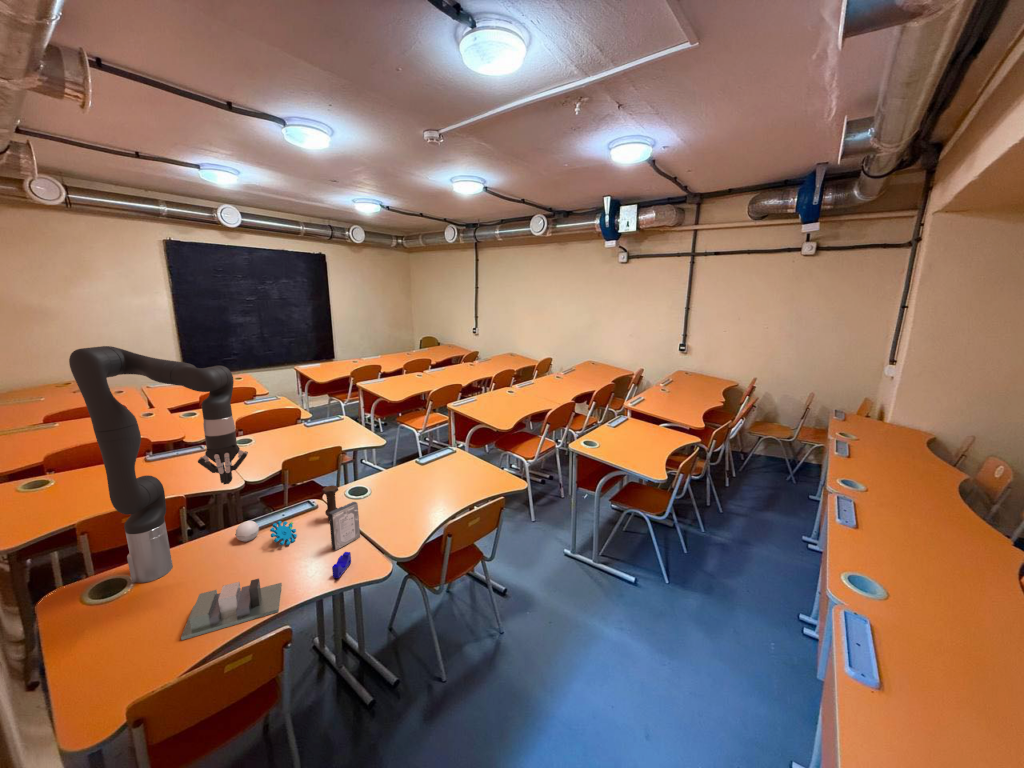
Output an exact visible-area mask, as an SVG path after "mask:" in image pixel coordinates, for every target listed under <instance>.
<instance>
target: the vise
mask: <svg viewBox="0 0 1024 768" xmlns="http://www.w3.org/2000/svg"><path fill="white" fill-rule="evenodd" d="M282 586H283V585H282V582H277V583H275V584H274V583H273V584H271V585H267V586H263V587H260V589H261V600H260V605H257V606H254V607H251V612H250V615H247V616H243V617H240V618H237V614H235V615H231V616H228V617H224V618H221V615H220V608H219V601H218V599H219V596H220V593H221V592H220V593H218V591H217V589H214V590H210V591H206V592H201V593H199V594H198V597H197V599H196V602H195V604H194V605H193V607H192V610H191V611H190V614H189V616H188V618H187V622H186V624H185V626H184V628H183V631H182V634H181V637H180V640H181V641H184V640H188V639H191V638H195V637H198V636H202V635H204V634H208V633H212V632H215V631H219V630H223V629H225V628H228V627H232V626H235V625H239V624H242V623H246V622H250V621H253V620H256V619H259V618H262V617H266V616H269V615H273V614H276V613H279V612H280V611H279V609H280V604H281V601H280V600H281V594H282Z"/></svg>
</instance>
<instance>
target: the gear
mask: <svg viewBox="0 0 1024 768" xmlns="http://www.w3.org/2000/svg"><path fill="white" fill-rule="evenodd" d="M287 524H288V525H287ZM293 524H294V522H293V521H291V522H289V523H288V522H287V521H286V520H285V521H281V520H279V521H277V522H274V523H273V524H272V525H271V526H272V527H271V528H270V529H269V532H271V533H270V538H274V539H273V542H274V543H278V542H279V541H280V542H279V545H280V546H283V545H284V544H285V545H286V546H289V545H290V544H292V543H294V542H295V541H296V538H297V537H298V534H297V533H296V532H297V530H296V528H293V527H294V526H293ZM275 537H276V538H275Z"/></svg>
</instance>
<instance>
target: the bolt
mask: <svg viewBox="0 0 1024 768" xmlns="http://www.w3.org/2000/svg"><path fill="white" fill-rule="evenodd" d="M338 491H339V487H338V486H337V485H333V484H331V485H328V486H325V487H323V488H322V494H323V495H325V497H326V505H327V507H326V509H325V511H324V512H325V515H326V516H327V517H328V518H327V519H328V522H330V521H329V512H331V511H333V510H335V509H338V508H339V507H337V504H336V502H337V501H336V493H337V492H338Z"/></svg>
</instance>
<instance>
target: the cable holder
mask: <svg viewBox="0 0 1024 768" xmlns="http://www.w3.org/2000/svg"><path fill="white" fill-rule="evenodd" d="M351 555H352V553H351V552H350V551H344V552H343V553H342V554H341V555H339V557H338V559H337V561H336V563H335V564H333V565H332V566H331V567H332V568H331V571H332V578H334V579H339V578H340V577H341V576H342V575H343V574H344V572H345V571H346V570H347V569H348V567H349V566H350V565H351V563H352V556H351Z"/></svg>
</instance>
